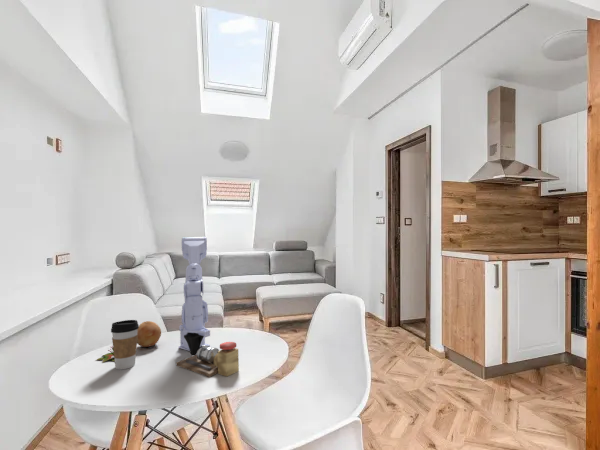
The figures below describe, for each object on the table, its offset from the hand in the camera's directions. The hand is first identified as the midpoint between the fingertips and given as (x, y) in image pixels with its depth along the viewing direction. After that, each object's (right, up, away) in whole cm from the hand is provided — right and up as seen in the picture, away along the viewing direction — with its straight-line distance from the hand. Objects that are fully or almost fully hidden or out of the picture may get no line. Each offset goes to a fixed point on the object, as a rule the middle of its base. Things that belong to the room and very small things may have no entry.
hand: (194, 354), depth 111 cm
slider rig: (+7, -2, -5) cm, 9 cm away
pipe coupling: (+5, -1, -4) cm, 7 cm away
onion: (-24, -4, +17) cm, 30 cm away
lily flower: (-31, -4, +6) cm, 32 cm away
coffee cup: (-23, -3, -2) cm, 23 cm away
